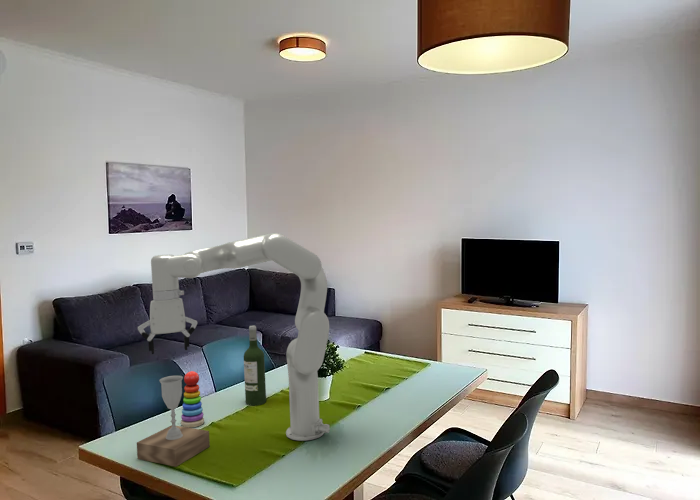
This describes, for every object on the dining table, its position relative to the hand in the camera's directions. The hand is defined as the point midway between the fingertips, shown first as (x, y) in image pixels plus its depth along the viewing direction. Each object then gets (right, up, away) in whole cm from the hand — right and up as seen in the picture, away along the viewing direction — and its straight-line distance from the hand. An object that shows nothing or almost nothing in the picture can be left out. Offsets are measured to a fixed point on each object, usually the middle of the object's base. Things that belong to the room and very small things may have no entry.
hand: (169, 351), depth 167 cm
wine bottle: (+18, -29, +46) cm, 58 cm away
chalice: (+1, -27, +1) cm, 27 cm away
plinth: (+1, -32, +2) cm, 32 cm away
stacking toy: (0, -31, +25) cm, 40 cm away
